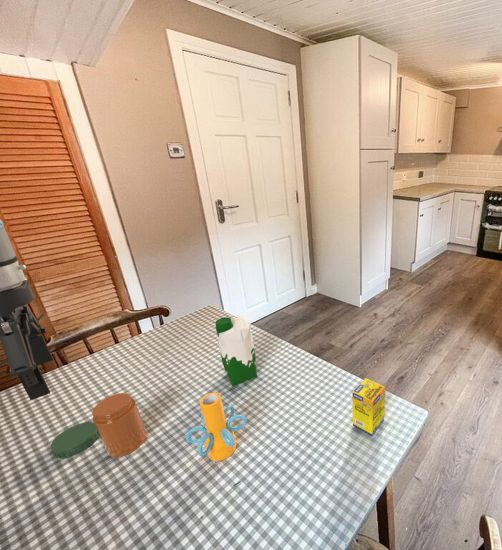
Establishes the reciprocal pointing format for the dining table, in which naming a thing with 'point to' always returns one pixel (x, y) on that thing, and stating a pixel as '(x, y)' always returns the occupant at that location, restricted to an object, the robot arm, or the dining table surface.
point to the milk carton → (236, 349)
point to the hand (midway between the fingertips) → (43, 377)
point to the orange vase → (216, 428)
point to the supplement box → (368, 406)
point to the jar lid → (74, 440)
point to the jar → (119, 424)
